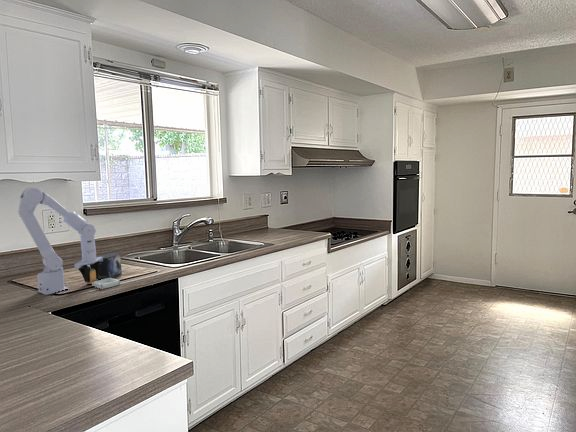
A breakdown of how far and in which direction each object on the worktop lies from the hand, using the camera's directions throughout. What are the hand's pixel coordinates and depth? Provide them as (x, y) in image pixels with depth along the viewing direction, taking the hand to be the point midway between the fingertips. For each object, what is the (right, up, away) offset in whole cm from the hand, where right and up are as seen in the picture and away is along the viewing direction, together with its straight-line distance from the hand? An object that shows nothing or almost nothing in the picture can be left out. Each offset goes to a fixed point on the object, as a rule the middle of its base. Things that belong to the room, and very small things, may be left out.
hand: (91, 280), depth 193 cm
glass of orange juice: (0, -1, 0) cm, 1 cm away
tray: (+8, -2, -4) cm, 9 cm away
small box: (+4, 0, +11) cm, 12 cm away
